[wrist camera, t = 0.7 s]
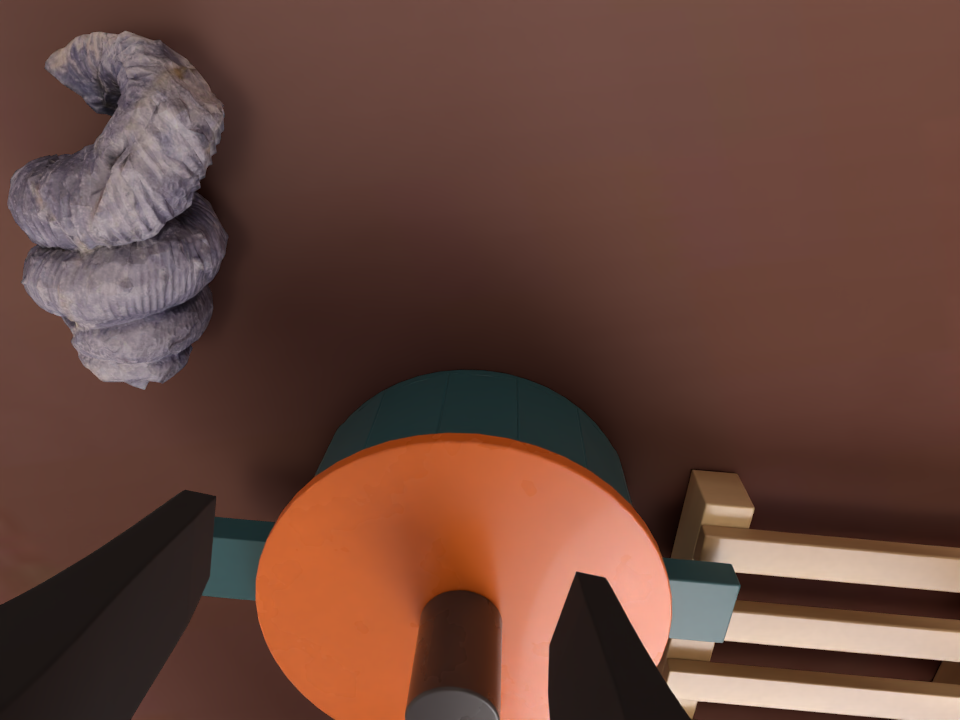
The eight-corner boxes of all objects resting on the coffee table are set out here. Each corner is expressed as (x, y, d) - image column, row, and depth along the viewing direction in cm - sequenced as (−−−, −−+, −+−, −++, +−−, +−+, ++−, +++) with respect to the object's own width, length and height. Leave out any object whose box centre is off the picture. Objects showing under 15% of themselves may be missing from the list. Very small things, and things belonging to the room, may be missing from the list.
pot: (670, 642, 28) (700, 757, 23) (253, 604, 28) (203, 711, 23) (735, 391, 23) (787, 476, 19) (233, 347, 23) (167, 421, 19)
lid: (628, 745, 24) (652, 889, 20) (275, 712, 24) (227, 850, 20) (703, 441, 19) (755, 552, 15) (255, 401, 19) (184, 501, 15)
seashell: (155, 24, 20) (187, 337, 25) (-67, 13, 17) (18, 384, 21) (262, 44, 17) (277, 394, 22) (23, 35, 14) (100, 461, 18)
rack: (919, 784, 31) (953, 846, 28) (621, 756, 31) (630, 816, 28) (1066, 502, 24) (1126, 552, 22) (691, 468, 24) (710, 515, 22)
